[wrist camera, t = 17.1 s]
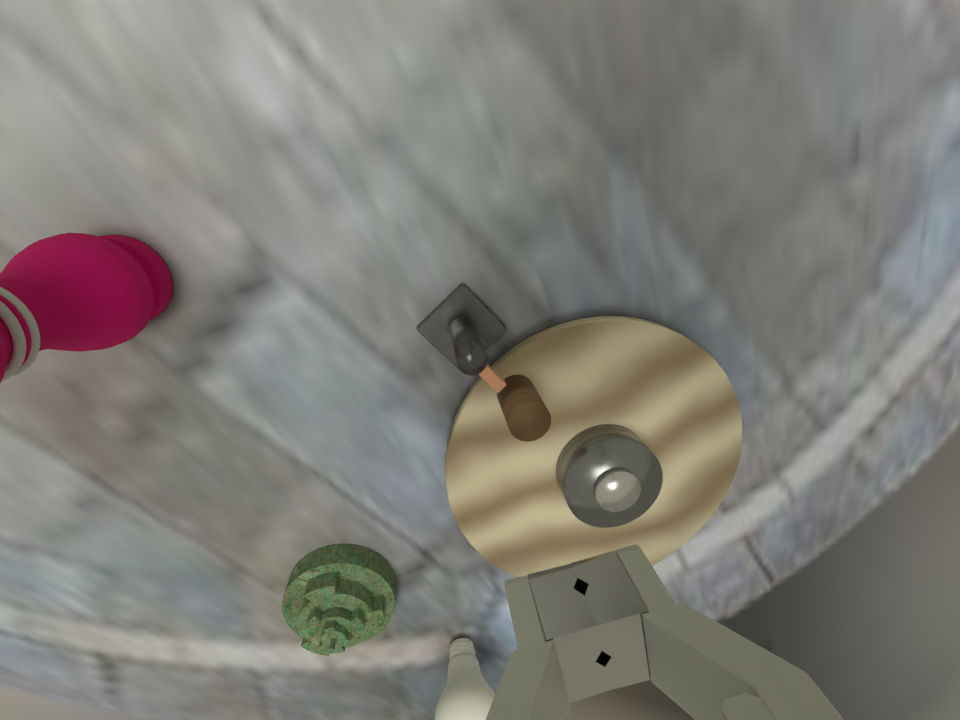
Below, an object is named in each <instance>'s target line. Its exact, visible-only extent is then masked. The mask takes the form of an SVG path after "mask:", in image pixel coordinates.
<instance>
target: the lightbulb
mask: <svg viewBox="0 0 960 720" xmlns="http://www.w3.org/2000/svg"><path fill="white" fill-rule="evenodd" d="M494 696H495V693H494V692H493V690H492V689H491V687H490V686H489V685H488V684H487V682H486V681H485V680H484V678H483V676H482V673H481V670H480V666H479V662H478V660H477V658H476V655H475V649H474V645H473V642H472V641H471V640H469V639H467V638H458V639H456V640H454V641H453V642H452V644H451V645H450V662H449V665H448V678H447V683H446V686H445V689H444V691H443V693H442V695H441V697H440V700H439V702H438V705H437V708H436V713H435V720H486V717H487V714H488V712H489V709H490V707H491V704H492V701H493V699H494Z"/></svg>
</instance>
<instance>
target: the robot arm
mask: <svg viewBox="0 0 960 720" xmlns="http://www.w3.org/2000/svg"><path fill="white" fill-rule="evenodd" d="M527 575H528V577H527ZM527 575H525V576H521V577H517V578H513V579H509V580H505V590H506V595H507V599H508V604H509V608H510V613H511V617H512V622H513V627H514V631H515V636H516V640H517V645H518V650H515V651H512V652H511V654H510V657H509V660H508V662H507V665H506V667H505V670H504V673H503V675H502V678H501V681H500V683H499V686H498V688H497V691H496V694H495V696H494V699H493V701H492V704H491V707H490V709H489V712H488V714H487V717H486V720H567V719H568V714H569V709H570V704H569V703H571V702H574V701H577V700H580V699H583V698H586V697H589V696H592V695H596V694H599V693H602V692H605V691H608V690H612V689H616V688H619V687H623V686H627V685H631V684H635V683H639V682H643V681H647V680H651V682H652V683H653V684H654V685H656V686H657V687H658V688H659V689H660V690H662V691H663V692H664V693H665V694H666V695H667V696H668V697H670V698H671V699H672V700H673V701H674V702H675V703H677V704H678V705H679V706H680V707H681V708H682V709H683V710H685V711H686V712H687V713H688V714H690V716H692V717H693V718H694V719H695V720H843V718H842V717H841V716H840V714H839V713H838V712H837V711H836V709H835V708H834V707H833V706H832V704H831V703H830V702H829V701H828V699H827V698H826V697H825V696H824V694H823V693H822V692H821V690H820V689H819V688H818V687H817V685H816V684H815V683H814V682H813V680H812V679H811V678H810V677H809V676H808V674H807V673H805V672H804V671H802V670H800V669H798V668H796V667H795V666H793V665H792V664H790V663H788V662H786V661H784V660H783V659H781V658H779V657H777V656H775V655H774V654H772V653H770V652H769V651H767V650H765V649H763V648H762V647H760V646H758V645H756V644H754V643H753V642H751V641H749V640H747V639H746V638H744V637H742V636H740V635H739V634H737V633H735V632H733V631H731V630H730V629H728V628H726V627H724V626H723V625H721V624H719V623H717V622H716V621H714V620H712V619H710V618H709V617H707V616H705V615H703V614H702V613H700V612H698V611H696V610H695V609H693V608H691V607H689V606H687V605H686V604H684V603H680V604H675V603H674V601H673V599H672V598H671V596H670V595H669V593H668V591H667V590H666V588H665V586H664V585H663V583H662V582H661V580H660V578H659V577H658V575H657V574H656V572H655V570H654V569H653V567H652V565H651V564H650V562H649V561H648V559H647V557H646V556H645V554H644V553H643V551H642V549H641V548H640V547H639V546H638V545H637V544H635V545H631V546H628V547H624V548H621V549H617V550H614V551H610V552H607V553H603V554H600V555H596V556H593V557H590V558H586V559H583V560H579V561H576V562H573V563H570V564H567V565H563V566H559V567H555V568H551V569H547V570H543V571H539V572H535V573H531V574H527Z"/></svg>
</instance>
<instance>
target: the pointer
mask: <svg viewBox="0 0 960 720" xmlns="http://www.w3.org/2000/svg"><path fill="white" fill-rule="evenodd" d="M506 330H507V329H506V327H505V326H504V325H503V324H502V323H501V322H500V321H499V320H498V319H497V318H496V317H495V316H494V315H493V314H492V313H491V312H490V311H489V309H488V308H487V307H486V306H485V305H484V304H483V303H482V302H481V301H480V300H479V299H478V298H477V297H476V296H475V295H474V294H473V293H472V292H471V291H470V290H469V289H468V288H467V287H466V286H465V285H464V284H463V283H461V284H460V285H459V286H458V287H457V288H456V289H455V290H454V291H453V292H452V293H451V294H450V295H449V296H448V297H447V298H446V299H445V300H444V301H443V302H442V303H440V304H439V305H438V306H437V307H436V308H435V309H434V310H433V311H432V312H431V313H430V314H429V315H428V316H427V317H426V318H425V319H424V320H423V321H422V322H421V323H420V324H419V325H418V326H417V331H418V332H420V333H421V334H422V335H423V336H424V337H425V338H426V339H427V340H428V341H429V342H430V343H431V344H432V345H433V346H435V347H436V348H437V349H438V350H439V351H440V352H441V353H442V354H443V355H444V356H445V357H446V358H447V359H448V360H450V361H451V362H452V363H453V364H454V365H455V366H456V367H457V368H458V369H459V370H460V371H461V372H462V373H464V374H466V375H477V374H478V375H479V376H481V377H482V378H483V379H484V380H485V381H486V382H487V383H488V384H489V385H490V386H491V387H492V388H493V389H494V390H495V391H496V392H497V393H499V392H500V391H501V390H502V389H503V388H504V387H505V386H506V382H505V380H504V379H503V378H501V377H500V376H499V375H498V374H497V373H496V372H495V371H494V370H493V369H492V368H491V367H490V366H489V365H488V364H487V355H486V353H485V349H487V348H488V347H489V346H490V345H491V344H492V343H493V342H494V341H495V340H496V339H497V338H498V337H499V336H500V335H502V334H503V333H504V332H505V331H506Z"/></svg>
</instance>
